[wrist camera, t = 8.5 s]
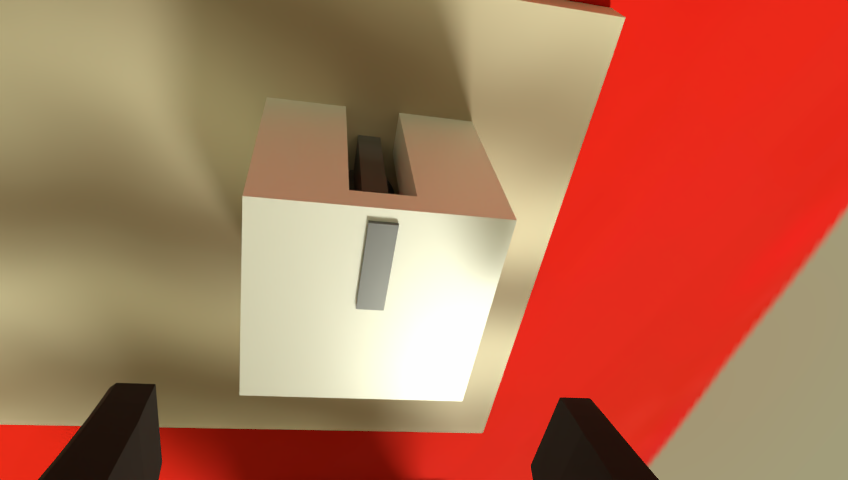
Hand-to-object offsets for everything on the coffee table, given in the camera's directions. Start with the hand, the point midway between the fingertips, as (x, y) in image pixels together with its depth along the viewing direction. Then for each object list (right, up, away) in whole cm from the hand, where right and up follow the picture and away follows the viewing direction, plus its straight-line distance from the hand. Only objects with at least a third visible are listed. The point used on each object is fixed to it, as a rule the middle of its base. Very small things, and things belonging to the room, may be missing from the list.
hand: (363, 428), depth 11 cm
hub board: (-6, +4, +7) cm, 10 cm away
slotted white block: (-1, +5, +6) cm, 8 cm away
